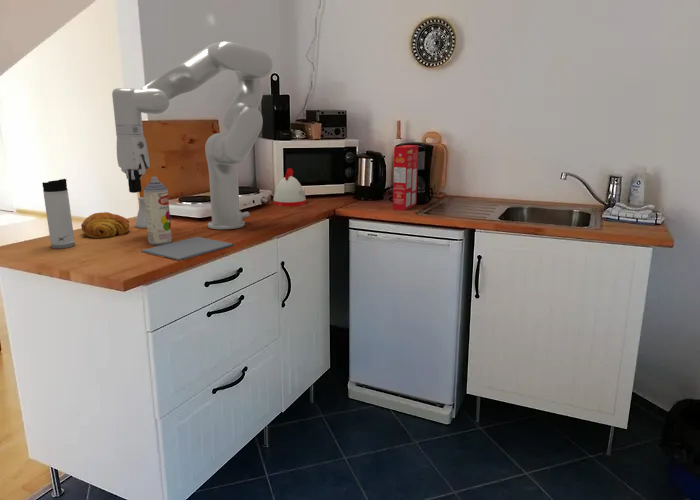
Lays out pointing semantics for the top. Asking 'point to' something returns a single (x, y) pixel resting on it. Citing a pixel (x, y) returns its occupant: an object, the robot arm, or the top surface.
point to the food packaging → (405, 177)
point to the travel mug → (58, 214)
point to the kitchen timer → (289, 191)
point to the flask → (141, 214)
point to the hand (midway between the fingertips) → (135, 191)
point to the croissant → (105, 225)
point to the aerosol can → (157, 213)
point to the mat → (187, 248)
